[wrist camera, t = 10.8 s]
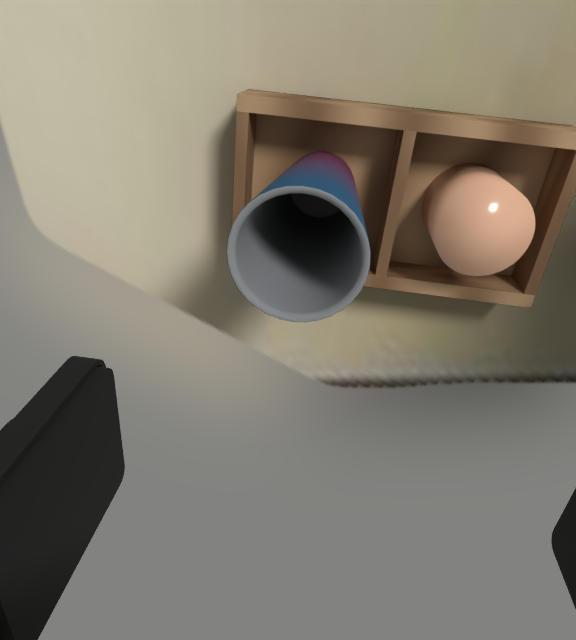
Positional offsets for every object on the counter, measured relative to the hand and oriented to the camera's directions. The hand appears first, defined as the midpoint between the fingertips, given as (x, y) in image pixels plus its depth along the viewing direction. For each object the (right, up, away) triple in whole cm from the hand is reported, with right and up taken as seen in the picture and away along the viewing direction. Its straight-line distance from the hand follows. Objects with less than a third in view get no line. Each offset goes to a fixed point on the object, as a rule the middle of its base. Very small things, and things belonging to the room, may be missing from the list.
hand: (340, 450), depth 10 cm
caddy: (+7, +12, +27) cm, 30 cm away
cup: (+1, +12, +27) cm, 30 cm away
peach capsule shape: (+12, +11, +26) cm, 31 cm away
